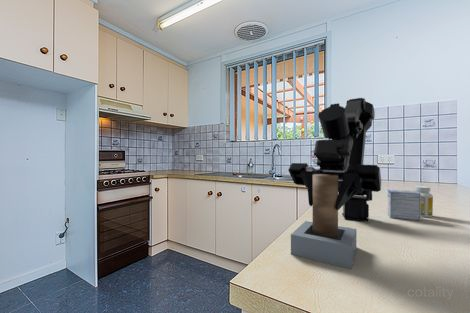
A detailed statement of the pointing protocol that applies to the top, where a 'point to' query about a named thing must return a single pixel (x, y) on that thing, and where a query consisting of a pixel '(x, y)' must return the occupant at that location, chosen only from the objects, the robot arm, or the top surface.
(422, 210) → the supplement bottle
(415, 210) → the medicine box
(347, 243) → the well
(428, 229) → the top surface
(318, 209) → the walnut cylinder
